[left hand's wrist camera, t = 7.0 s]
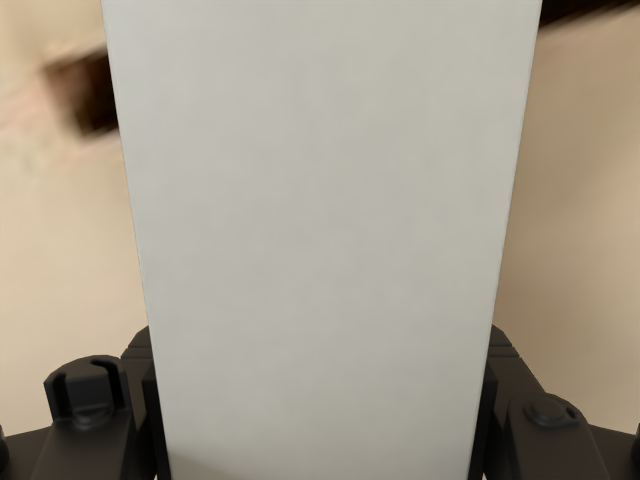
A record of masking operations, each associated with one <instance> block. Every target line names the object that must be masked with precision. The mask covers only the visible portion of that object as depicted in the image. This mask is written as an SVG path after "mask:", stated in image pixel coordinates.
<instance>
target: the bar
mask: <svg viewBox="0 0 640 480" xmlns="http://www.w3.org/2000/svg"><path fill="white" fill-rule="evenodd" d="M100 1H101V8H102V15H103V22H104V28H105V35H106V42H107V48H108V55H109V62H110V69H111V75H112V82H113V89H114V96H115V102H116V109H117V116H118V122H119V129H120V136H121V143H122V149H123V156H124V163H125V170H126V176H127V183H128V190H129V196H130V203H131V210H132V217H133V223H134V230H135V237H136V244H137V250H138V257H139V264H140V270H141V277H142V284H143V291H144V297H145V304H146V311H147V318H148V324H149V331H150V338H151V344H152V351H153V358H154V365H155V371H156V378H157V385H158V392H159V398H160V405H161V412H162V418H163V425H164V432H165V439H166V445H167V452H168V459H169V466H170V472H171V479H172V480H468V473H469V467H470V460H471V454H472V448H473V441H474V435H475V428H476V422H477V416H478V409H479V403H480V396H481V390H482V384H483V377H484V371H485V364H486V358H487V351H488V345H489V339H490V332H491V326H492V319H493V313H494V307H495V300H496V294H497V287H498V281H499V275H500V268H501V262H502V255H503V249H504V242H505V236H506V230H507V223H508V217H509V210H510V204H511V198H512V191H513V185H514V178H515V172H516V166H517V159H518V153H519V146H520V140H521V133H522V127H523V121H524V114H525V108H526V101H527V95H528V89H529V82H530V76H531V69H532V63H533V57H534V50H535V44H536V37H537V31H538V24H539V18H540V12H541V5H542V0H100Z"/></svg>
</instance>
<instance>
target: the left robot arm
mask: <svg viewBox="0 0 640 480" xmlns="http://www.w3.org/2000/svg"><path fill="white" fill-rule="evenodd" d="M43 384H44V388H45V391H46V395H47V399H48V403H49V407H50V411H51V415H52V419H53V423H52V426H49V427H46V428H43V429H39V430H34V431H30V432H26V433H21V434H17V435H12V436H8V437H5V436H4V433H3V430H2V427H1V425H0V480H154V478H155V476H156V474H157V480H172V479H171V472H170V466H169V459H168V452H167V445H166V439H165V432H164V425H163V418H162V412H161V405H160V398H159V392H158V385H157V378H156V371H155V365H154V358H153V351H152V344H151V338H150V331H149V325H148V326H147V327H145V328H144V329H142V330H141V331H139V332H138V333H137V334H136V335H135V337H134V338H133V340H132V341H131V342H130V344H129V345H128V348H126V350H125V351H124V353H123V354H122V355H121V359H119V358H118V357H113V356H109V355H93V356H88V357H84V358H80V359H76V360H74V361H72V362H69V363H67V364H65V365H63V366H61V367H60V368H58V369H57V370H55V371H54V372H52V373H51V374H50V375H49V376H48V378H47V379H46V380H45V381H44V383H43ZM483 472H484V474H485V477H486V479H487V480H640V423H639V426H638V429H637V432H636V435H632V434H628V433H623V432H619V431H614V430H610V429H605V428H601V427H597V426H594V425H590V424H588V422H587V420H586V419H585V417H584V416H583V415H582V413H581V412H580V410H578V409H577V408H576V407H575V406H573V405H572V404H571V403H569V402H568V401H566V400H564V399H562V398H560V397H558V396H556V395H553V394H549V393H546V392H545V391H544V389H543V388H542V387H541V385H540V384H539V382H538V381H537V379H536V378H535V377H534V375H533V374H532V372H531V371H530V369H529V368H528V367H527V365H526V364H525V362H524V361H523V359H522V358H520V357H519V354H518V352H517V351H516V350H515V348H514V347H512V344H511V342H510V341H509V340H508V338H507V337H506V335H505V334H504V332H503V331H501V330H500V329H498V328H497V327H496V326H494V325H493V324H492V326H491V332H490V339H489V345H488V351H487V358H486V364H485V371H484V377H483V384H482V390H481V396H480V403H479V409H478V416H477V422H476V428H475V435H474V441H473V448H472V454H471V460H470V467H469V473H468V480H482V478H483Z"/></svg>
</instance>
